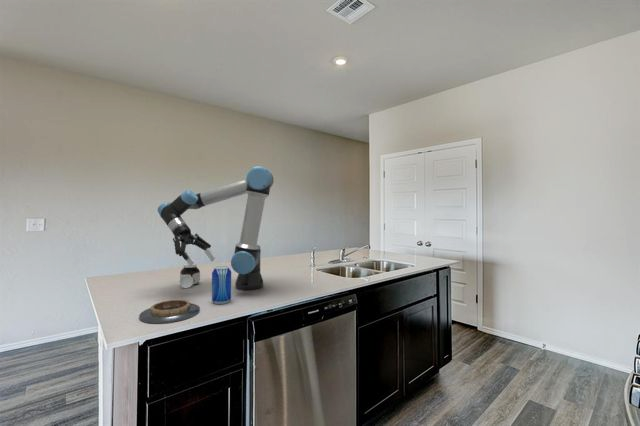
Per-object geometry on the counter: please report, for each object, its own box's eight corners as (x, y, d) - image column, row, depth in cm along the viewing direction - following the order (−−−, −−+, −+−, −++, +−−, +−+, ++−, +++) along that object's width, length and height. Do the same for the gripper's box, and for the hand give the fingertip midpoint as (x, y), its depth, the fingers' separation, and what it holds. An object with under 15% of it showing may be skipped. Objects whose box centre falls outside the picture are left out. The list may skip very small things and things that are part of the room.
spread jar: (196, 282, 175) (196, 262, 175) (204, 286, 167) (204, 265, 167) (174, 285, 167) (174, 264, 167) (181, 289, 159) (181, 267, 159)
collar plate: (191, 301, 138) (191, 294, 138) (206, 315, 121) (206, 307, 121) (135, 311, 125) (135, 303, 125) (143, 328, 108) (143, 318, 108)
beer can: (211, 300, 141) (211, 266, 141) (229, 298, 144) (230, 265, 144) (212, 305, 133) (212, 269, 133) (232, 303, 137) (232, 268, 136)
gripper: (195, 232, 161) (217, 262, 155) (153, 236, 138) (177, 271, 132) (202, 222, 159) (225, 253, 153) (161, 224, 136) (186, 260, 130)
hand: (203, 261), depth 143 cm, fingers open, 13 cm apart
